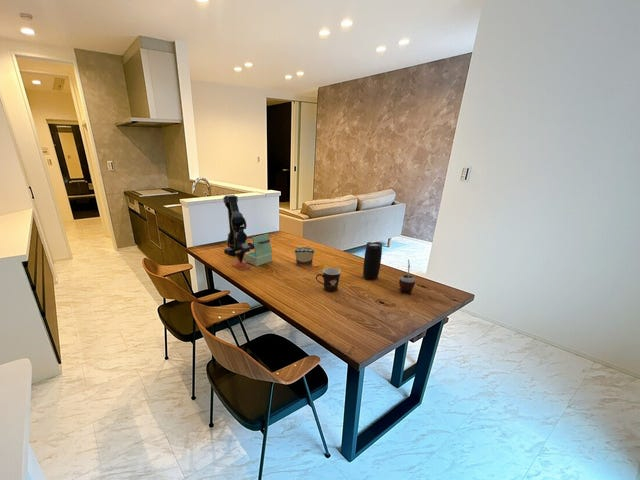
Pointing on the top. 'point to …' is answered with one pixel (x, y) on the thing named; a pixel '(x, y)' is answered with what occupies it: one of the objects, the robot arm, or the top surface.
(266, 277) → the top surface
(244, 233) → the robot arm
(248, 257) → the machine
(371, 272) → the portable speaker
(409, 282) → the mate gourd
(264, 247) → the machine lid
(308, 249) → the food container
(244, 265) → the button block
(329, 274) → the coffee mug
